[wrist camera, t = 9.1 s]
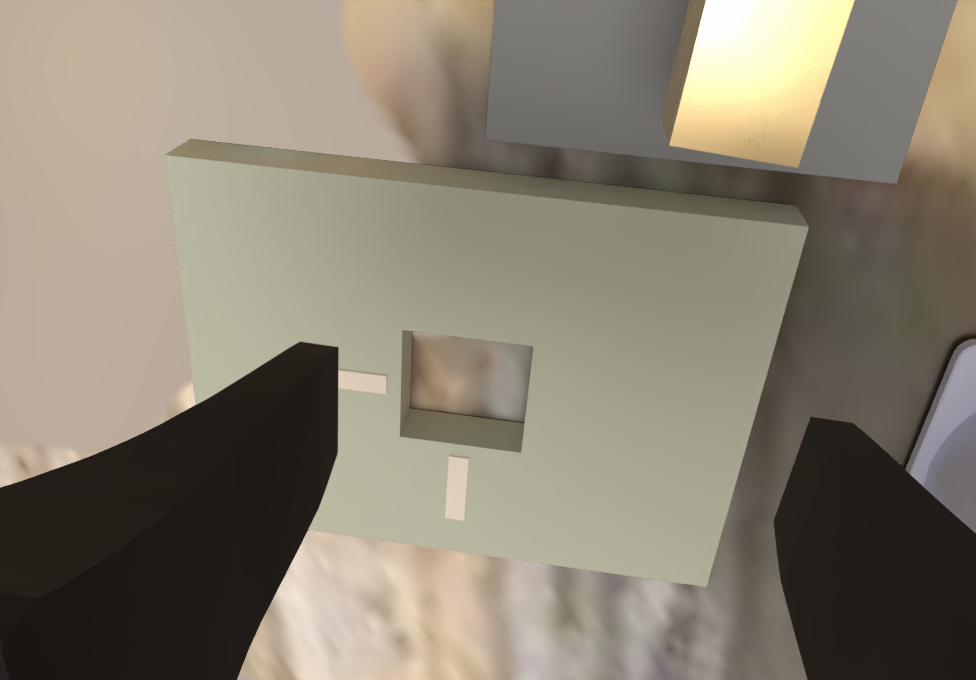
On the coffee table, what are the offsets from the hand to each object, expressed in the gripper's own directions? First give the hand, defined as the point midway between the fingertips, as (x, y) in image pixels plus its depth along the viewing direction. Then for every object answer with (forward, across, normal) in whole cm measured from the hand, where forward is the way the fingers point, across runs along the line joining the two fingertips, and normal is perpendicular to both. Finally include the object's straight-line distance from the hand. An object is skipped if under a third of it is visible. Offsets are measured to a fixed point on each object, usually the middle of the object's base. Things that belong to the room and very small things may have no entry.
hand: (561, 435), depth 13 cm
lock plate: (+10, +2, +5) cm, 12 cm away
